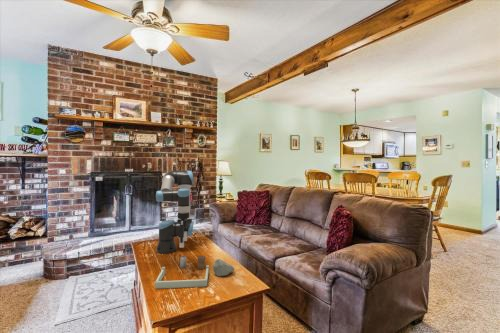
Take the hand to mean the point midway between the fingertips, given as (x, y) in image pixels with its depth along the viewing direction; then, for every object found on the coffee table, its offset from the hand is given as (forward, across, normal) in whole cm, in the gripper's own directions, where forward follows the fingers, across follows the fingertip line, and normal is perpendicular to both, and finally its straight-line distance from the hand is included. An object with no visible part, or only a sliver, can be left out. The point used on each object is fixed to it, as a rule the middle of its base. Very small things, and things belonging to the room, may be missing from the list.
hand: (183, 244), depth 165 cm
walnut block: (+16, +1, +12) cm, 20 cm away
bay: (+16, +18, +3) cm, 24 cm away
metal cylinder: (+16, 0, 0) cm, 16 cm away
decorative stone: (+16, +12, +27) cm, 34 cm away
